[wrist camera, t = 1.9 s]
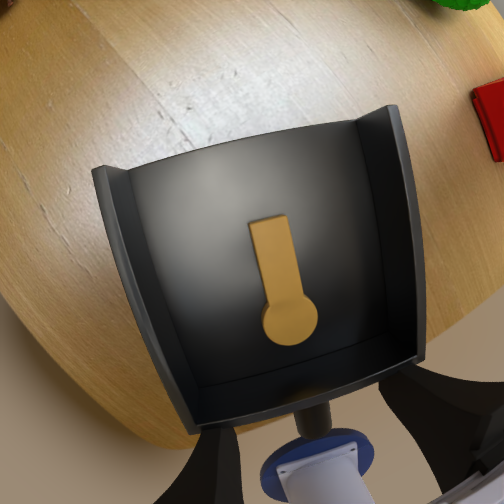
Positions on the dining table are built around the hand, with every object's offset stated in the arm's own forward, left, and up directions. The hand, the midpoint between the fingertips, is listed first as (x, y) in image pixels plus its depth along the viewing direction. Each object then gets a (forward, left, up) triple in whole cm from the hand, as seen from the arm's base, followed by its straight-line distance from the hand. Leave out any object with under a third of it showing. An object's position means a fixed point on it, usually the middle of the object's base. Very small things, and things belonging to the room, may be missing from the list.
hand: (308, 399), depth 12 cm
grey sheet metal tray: (+5, 0, -1) cm, 5 cm away
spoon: (+6, 0, -1) cm, 6 cm away
